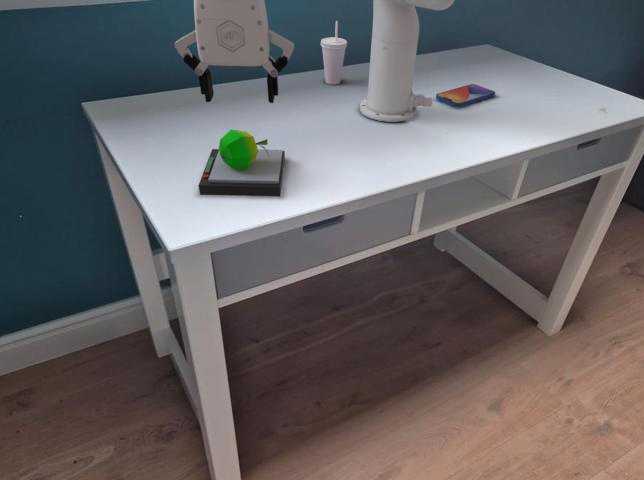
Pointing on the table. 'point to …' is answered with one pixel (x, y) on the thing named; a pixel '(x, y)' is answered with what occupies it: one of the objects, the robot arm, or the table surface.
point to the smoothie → (333, 57)
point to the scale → (244, 176)
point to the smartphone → (465, 95)
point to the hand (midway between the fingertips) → (240, 99)
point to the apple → (239, 149)
